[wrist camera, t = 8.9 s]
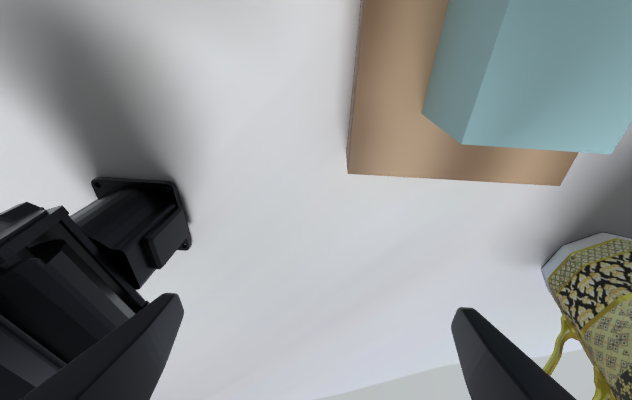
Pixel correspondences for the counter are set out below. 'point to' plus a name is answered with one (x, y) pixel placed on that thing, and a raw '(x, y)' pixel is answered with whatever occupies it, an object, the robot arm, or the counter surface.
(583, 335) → the ceramic cup
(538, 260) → the counter surface
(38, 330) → the robot arm
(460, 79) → the teal cube
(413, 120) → the walnut plinth
